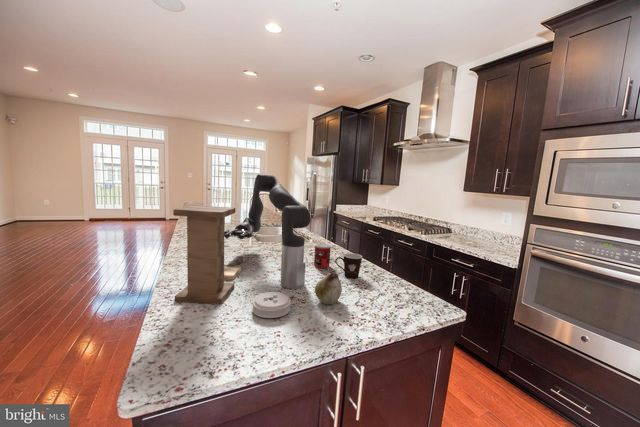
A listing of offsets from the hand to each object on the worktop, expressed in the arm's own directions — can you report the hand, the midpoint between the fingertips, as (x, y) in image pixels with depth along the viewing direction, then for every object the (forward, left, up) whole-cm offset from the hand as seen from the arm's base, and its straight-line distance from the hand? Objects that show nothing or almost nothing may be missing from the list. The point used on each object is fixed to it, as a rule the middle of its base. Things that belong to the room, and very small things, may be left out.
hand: (233, 236), depth 128 cm
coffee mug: (-49, -25, -15) cm, 58 cm away
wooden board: (-1, +2, -15) cm, 15 cm away
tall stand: (-15, +27, -15) cm, 34 cm away
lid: (-42, +22, -16) cm, 50 cm away
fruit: (-54, +5, -15) cm, 57 cm away
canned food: (-32, -29, -15) cm, 46 cm away
